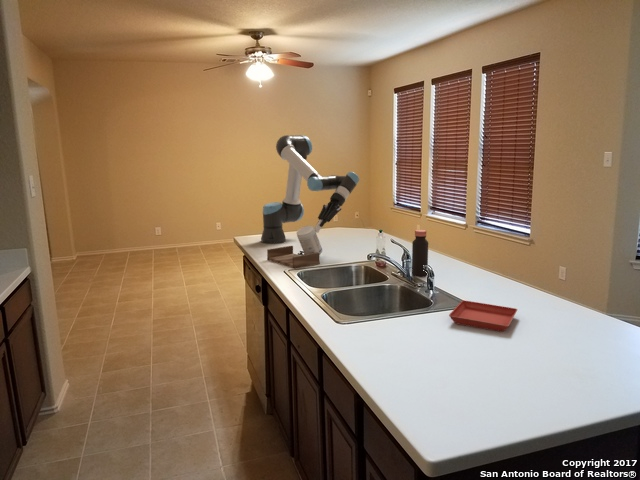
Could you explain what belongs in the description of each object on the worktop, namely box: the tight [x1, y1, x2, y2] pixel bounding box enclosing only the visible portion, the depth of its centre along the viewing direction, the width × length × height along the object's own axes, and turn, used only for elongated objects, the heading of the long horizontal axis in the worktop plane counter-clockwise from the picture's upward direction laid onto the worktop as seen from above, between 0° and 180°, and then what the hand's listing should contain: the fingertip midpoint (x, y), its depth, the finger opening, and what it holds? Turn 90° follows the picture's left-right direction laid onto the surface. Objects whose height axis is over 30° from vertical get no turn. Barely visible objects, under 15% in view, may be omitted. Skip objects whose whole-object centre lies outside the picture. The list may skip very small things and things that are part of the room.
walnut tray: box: [266, 245, 321, 269], centre depth 237 cm, size 24×15×6 cm, turn 38°
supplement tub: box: [296, 225, 323, 256], centre depth 243 cm, size 10×10×15 cm
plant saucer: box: [448, 300, 518, 332], centre depth 153 cm, size 18×18×3 cm
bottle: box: [411, 229, 429, 278], centre depth 207 cm, size 7×7×20 cm
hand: (315, 230), depth 243 cm, fingers closed
